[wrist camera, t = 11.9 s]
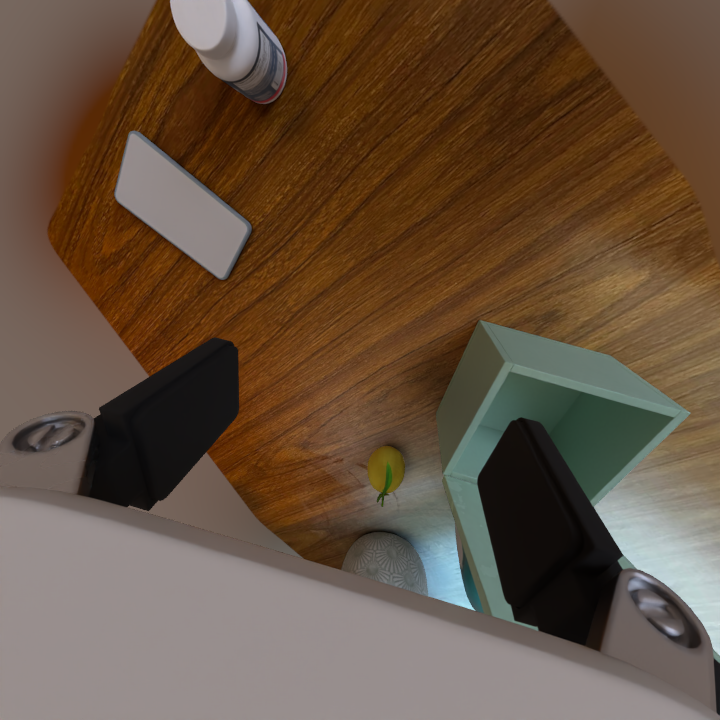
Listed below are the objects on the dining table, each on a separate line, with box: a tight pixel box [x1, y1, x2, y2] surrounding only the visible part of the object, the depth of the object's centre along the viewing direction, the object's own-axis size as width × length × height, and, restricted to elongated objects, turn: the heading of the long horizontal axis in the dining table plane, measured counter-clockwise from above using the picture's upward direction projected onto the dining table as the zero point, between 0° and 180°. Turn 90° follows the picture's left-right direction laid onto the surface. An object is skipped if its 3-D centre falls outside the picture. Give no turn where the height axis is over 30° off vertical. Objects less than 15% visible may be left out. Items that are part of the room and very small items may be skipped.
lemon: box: [367, 446, 405, 507], centre depth 40 cm, size 7×6×10 cm
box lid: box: [442, 475, 720, 663], centre depth 23 cm, size 15×16×6 cm
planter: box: [341, 532, 428, 596], centre depth 50 cm, size 17×17×15 cm
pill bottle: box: [170, 0, 287, 104], centre depth 22 cm, size 5×5×9 cm
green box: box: [436, 320, 690, 507], centre depth 32 cm, size 15×16×11 cm
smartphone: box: [114, 131, 252, 280], centre depth 33 cm, size 8×1×15 cm
